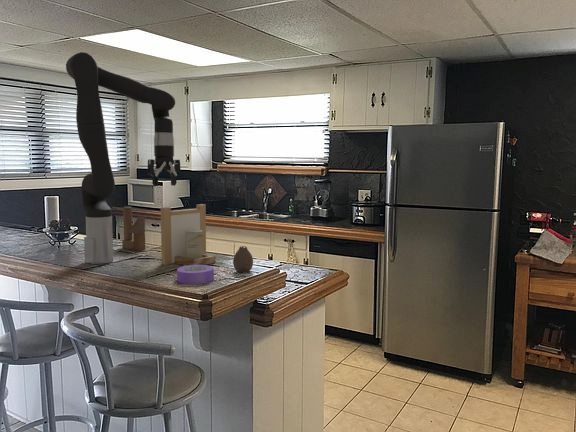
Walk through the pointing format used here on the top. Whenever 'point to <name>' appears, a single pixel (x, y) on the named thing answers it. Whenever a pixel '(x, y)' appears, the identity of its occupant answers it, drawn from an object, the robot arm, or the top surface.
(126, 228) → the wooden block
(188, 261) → the rail slot
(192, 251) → the skincare box
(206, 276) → the masking tape
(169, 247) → the headboard panel
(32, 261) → the top surface
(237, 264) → the vase
